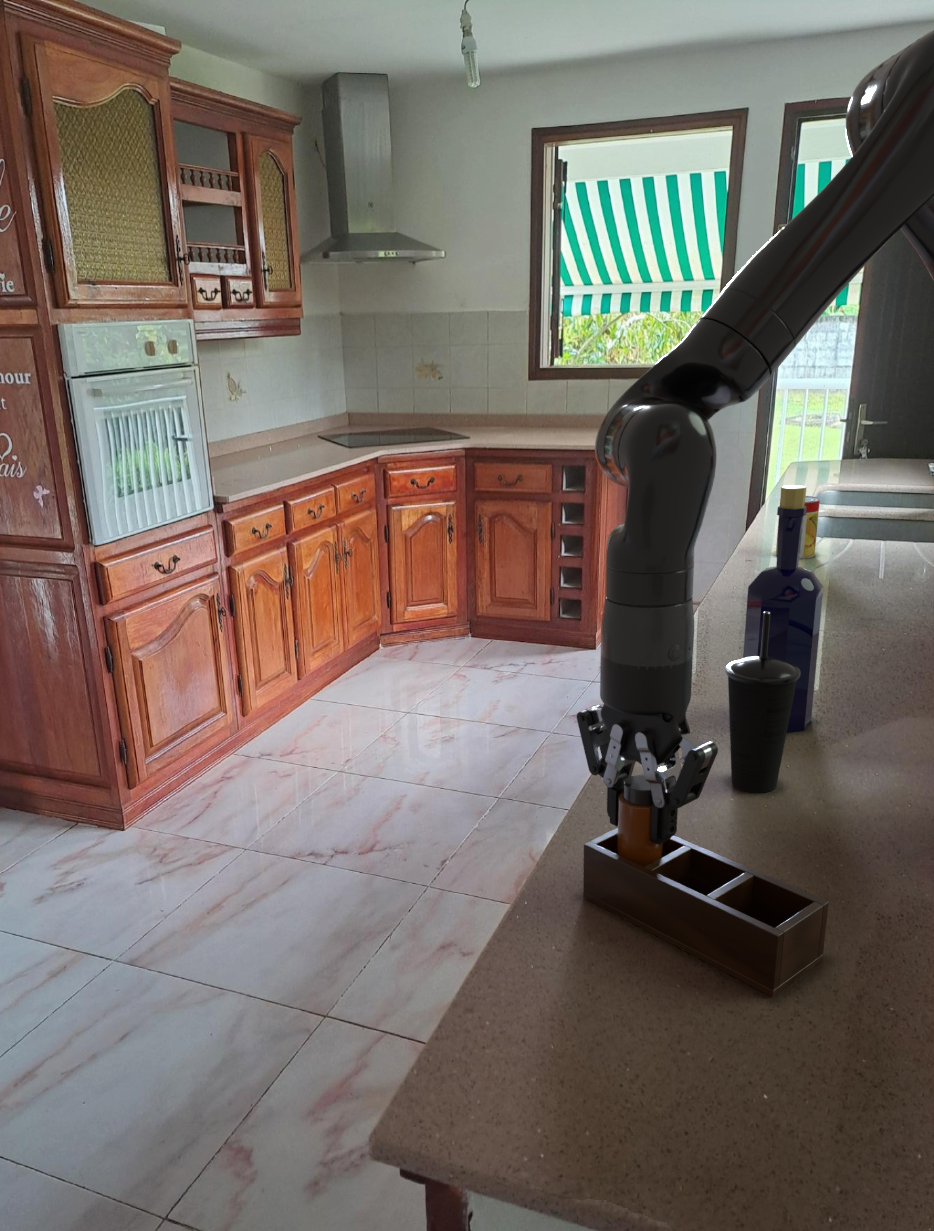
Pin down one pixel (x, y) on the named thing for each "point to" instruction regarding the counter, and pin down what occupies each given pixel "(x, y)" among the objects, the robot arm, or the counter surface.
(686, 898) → the holder
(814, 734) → the counter surface
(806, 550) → the canned food
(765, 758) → the drinking cup
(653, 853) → the spice bottle
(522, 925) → the counter surface
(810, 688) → the bottle
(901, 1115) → the counter surface
